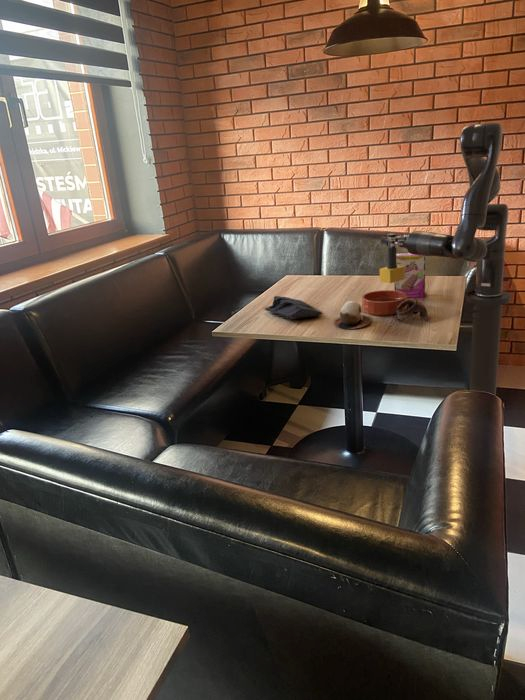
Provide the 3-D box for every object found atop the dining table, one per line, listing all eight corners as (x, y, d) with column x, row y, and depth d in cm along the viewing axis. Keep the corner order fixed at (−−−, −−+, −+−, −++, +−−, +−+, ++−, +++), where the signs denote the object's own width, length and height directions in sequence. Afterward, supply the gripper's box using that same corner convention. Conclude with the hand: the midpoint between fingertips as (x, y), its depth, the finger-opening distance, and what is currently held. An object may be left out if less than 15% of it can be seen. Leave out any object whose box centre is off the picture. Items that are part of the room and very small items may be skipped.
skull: (341, 312, 188) (358, 292, 182) (362, 333, 186) (380, 314, 180) (325, 322, 179) (343, 301, 173) (347, 344, 177) (366, 324, 171)
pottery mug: (431, 325, 172) (419, 306, 169) (404, 337, 176) (392, 318, 173) (430, 305, 181) (418, 287, 178) (404, 317, 186) (393, 299, 183)
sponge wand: (393, 277, 190) (393, 231, 184) (404, 279, 186) (404, 233, 180) (379, 281, 187) (378, 235, 181) (390, 283, 183) (389, 236, 177)
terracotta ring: (379, 301, 202) (378, 288, 200) (415, 307, 190) (415, 293, 189) (353, 311, 192) (352, 298, 190) (390, 318, 181) (390, 304, 179)
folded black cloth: (286, 324, 185) (285, 311, 183) (263, 309, 205) (261, 297, 203) (325, 315, 190) (324, 302, 188) (299, 302, 209) (298, 290, 208)
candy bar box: (394, 299, 202) (393, 256, 197) (395, 295, 207) (394, 253, 201) (425, 298, 199) (425, 254, 193) (425, 294, 204) (425, 251, 198)
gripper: (440, 228, 172) (399, 225, 186) (409, 235, 165) (370, 231, 179) (439, 251, 175) (399, 246, 189) (409, 259, 168) (370, 253, 182)
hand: (385, 239), depth 184 cm, fingers closed on sponge wand, 3 cm apart
